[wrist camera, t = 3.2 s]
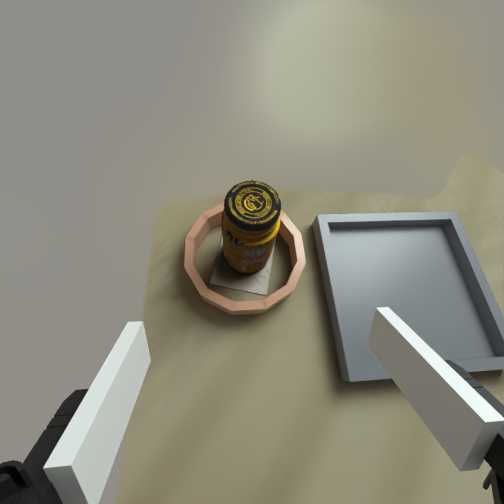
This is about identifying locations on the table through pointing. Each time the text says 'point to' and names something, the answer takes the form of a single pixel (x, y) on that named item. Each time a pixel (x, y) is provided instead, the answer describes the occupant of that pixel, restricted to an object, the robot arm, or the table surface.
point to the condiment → (247, 237)
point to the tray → (406, 288)
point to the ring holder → (242, 307)
